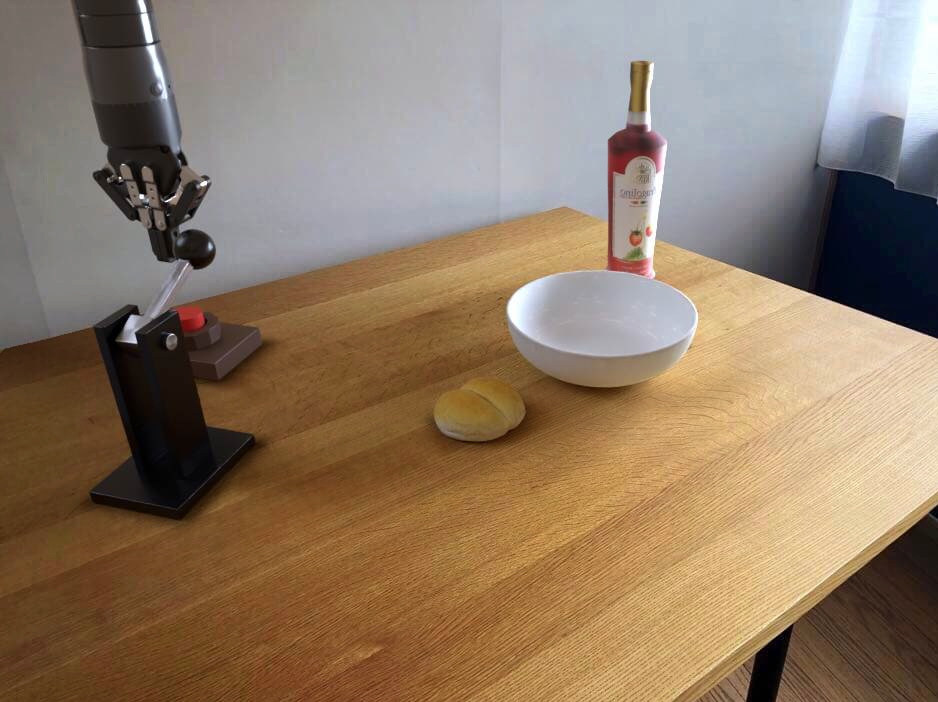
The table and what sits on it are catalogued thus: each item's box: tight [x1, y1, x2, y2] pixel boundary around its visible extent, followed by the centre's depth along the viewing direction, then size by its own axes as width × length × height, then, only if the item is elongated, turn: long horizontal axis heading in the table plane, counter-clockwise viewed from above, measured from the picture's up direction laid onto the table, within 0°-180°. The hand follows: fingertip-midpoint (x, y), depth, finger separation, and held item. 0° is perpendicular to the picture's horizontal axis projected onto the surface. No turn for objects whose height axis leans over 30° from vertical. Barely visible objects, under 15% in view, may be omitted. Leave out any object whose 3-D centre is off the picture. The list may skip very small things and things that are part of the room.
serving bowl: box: [505, 269, 699, 388], centre depth 95 cm, size 21×21×7 cm
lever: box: [115, 228, 217, 359], centre depth 75 cm, size 13×4×4 cm, turn 164°
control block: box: [183, 310, 263, 382], centre depth 98 cm, size 12×9×4 cm
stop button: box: [173, 305, 205, 332], centre depth 96 cm, size 4×4×2 cm
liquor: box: [603, 60, 668, 279], centre depth 109 cm, size 7×7×28 cm
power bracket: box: [88, 303, 257, 521], centre depth 75 cm, size 12×9×16 cm
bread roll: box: [433, 376, 527, 442], centre depth 86 cm, size 8×9×4 cm
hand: (169, 259), depth 92 cm, fingers closed
